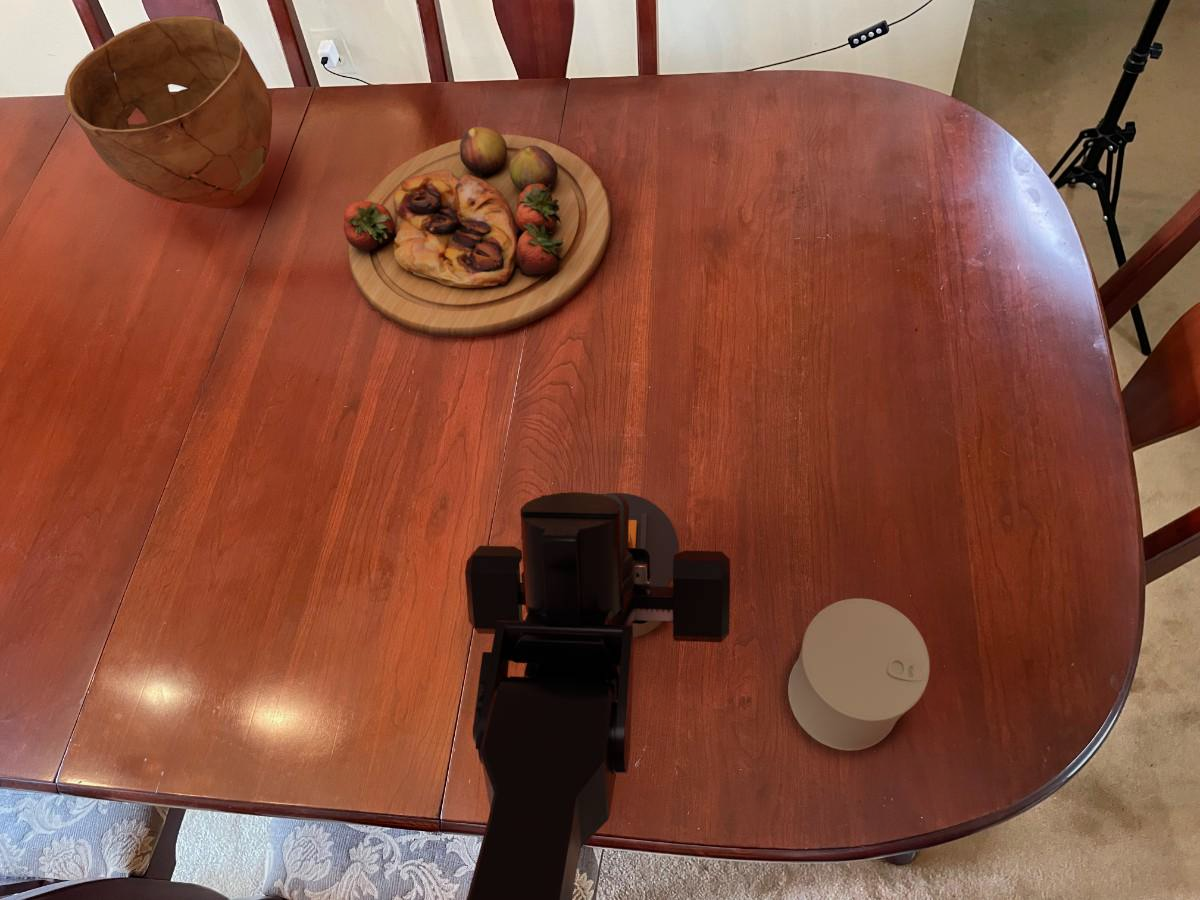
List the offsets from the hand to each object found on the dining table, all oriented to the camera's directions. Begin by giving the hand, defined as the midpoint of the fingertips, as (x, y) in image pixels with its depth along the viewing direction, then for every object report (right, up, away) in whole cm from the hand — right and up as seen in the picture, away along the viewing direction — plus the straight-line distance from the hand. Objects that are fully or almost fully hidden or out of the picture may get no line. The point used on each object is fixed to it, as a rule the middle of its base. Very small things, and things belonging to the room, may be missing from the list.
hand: (611, 548), depth 69 cm
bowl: (-49, +41, +42) cm, 76 cm away
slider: (0, +1, +3) cm, 3 cm away
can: (+20, -13, +4) cm, 24 cm away
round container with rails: (+1, -5, +10) cm, 11 cm away
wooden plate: (-15, +34, +34) cm, 51 cm away
